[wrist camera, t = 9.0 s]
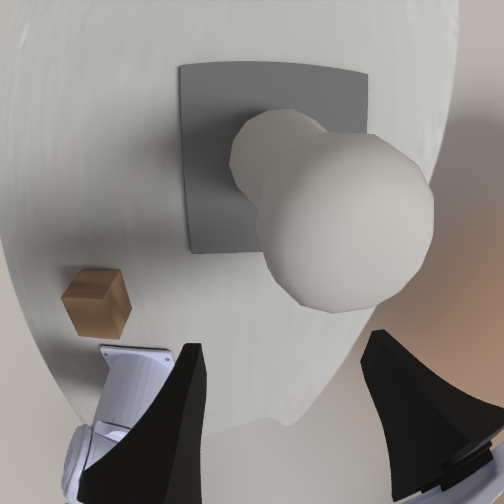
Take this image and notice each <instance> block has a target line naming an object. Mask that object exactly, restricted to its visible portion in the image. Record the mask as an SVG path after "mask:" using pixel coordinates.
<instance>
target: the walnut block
mask: <svg viewBox="0 0 504 504" xmlns="http://www.w3.org/2000/svg"><path fill="white" fill-rule="evenodd" d="M61 299H62V301H63V303H64V306H65V308H66V310H67V312H68V314H69V317H70V319H71V321H72V323H73V325H74V327H75V329H76V331H77V333H78V335H79V336H84V337H94V338H105V339H117V340H119V339H120V336H121V334H122V331H123V329H124V326H125V324H126V322H127V319H128V317H129V314H130V312H131V310H132V307H131V304H130V300H129V297H128V294H127V291H126V287H125V284H124V281H123V277H122V274H121V270H81V271H80V273H79V274H78V275H77V277H76V278H75V279H74V280H73V282H72V283H71V284H70V286H69V287H68V288H67V290H66V291H65V292H64V294H63V295H62V297H61Z"/></svg>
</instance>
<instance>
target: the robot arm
mask: <svg viewBox="0 0 504 504" xmlns="http://www.w3.org/2000/svg"><path fill="white" fill-rule="evenodd" d="M100 351H101V353H102V355H103V357H104V359H105V361H106V362H107V364H108V366H109V368H110V370H109V373H108V376H107V379H106V382H105V385H104V388H103V391H102V394H101V397H100V400H99V403H98V406H97V409H96V412H95V416H94V419H93V423H92V425H91V426H88V425H87V424H83V425H82V426H79V427H77V428H76V430H75V432H74V434H73V437H72V439H71V442H70V445H69V448H68V451H67V455H66V460H65V464H64V473H63V477H62V484H61V485H62V490H63V493H64V496H65V498H66V499H67V500H68V501H69V503H70V504H202V498H201V474H200V445H201V434H202V426H203V418H204V410H205V402H206V389H207V373H206V367H205V362H204V357H203V352H202V346H201V343H186V344H184V345H183V348H182V350H181V352H180V355H179V357H178V359H177V361H176V363H174V360H173V357H172V354H171V352H169V351H167V350H149V349H134V348H121V347H110V346H101V348H100ZM360 363H361V367H362V371H363V374H364V378H365V382H366V384H367V387H368V389H369V392H370V394H371V397H372V399H373V401H374V404H375V407H376V409H377V412H378V414H379V417H380V419H381V423H382V426H383V429H384V434H385V438H386V442H387V448H388V453H389V459H390V468H391V482H392V498H393V501H394V502H396V501H399V500H401V499H404V498H406V497H408V496H411V495H413V494H415V493H417V492H419V491H421V493H422V494H421V495H419V496H417V497H415V498H413V499H411V500H408V501H406V502H404V503H401V504H491V503H492V502H493V501H494V500H495V499H496V498H497V497H498V496H499V495H500V494H501V493H502V492H503V491H504V442H502V443H501V444H500V445H499V446H497V447H496V448H495V449H494V450H492V451H490V449H489V448H490V447H491V446H492V443H491V441H490V440H491V439H492V438H494V437H495V436H496V435H497V434H498V433H499V432H501V431H502V430H503V429H504V408H502V407H499V406H495V405H492V404H489V403H486V402H483V401H481V400H479V399H476V398H474V397H472V396H470V395H468V394H466V393H464V392H463V391H461V390H459V389H457V388H456V387H454V386H452V385H450V384H449V383H448V382H446V381H444V380H443V379H442V378H440V377H439V376H437V375H436V374H435V373H434V372H432V371H431V370H429V368H427V367H426V366H425V365H424V364H423V363H421V362H420V361H419V360H418V359H417V358H415V357H414V356H413V355H412V354H411V353H410V352H409V351H407V349H405V348H404V347H403V346H402V345H401V344H400V343H399V342H398V341H397V340H396V339H394V338H393V337H392V336H391V335H390V334H389V333H387V332H386V331H385V330H384V329H382V330H376V331H372V333H371V336H370V338H369V341H368V343H367V346H366V348H365V351H364V353H363V356H362V358H361V361H360ZM65 504H68V503H65Z"/></svg>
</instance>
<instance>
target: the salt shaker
mask: <svg viewBox="0 0 504 504" xmlns="http://www.w3.org/2000/svg"><path fill="white" fill-rule="evenodd" d="M229 166H230V169H231V171H232V174H233V177H234V180H235V183H236V185H237V187H238V188H239V189H240V190H241V191H242V192H243V193H244V194H245V195H246V196H247V198H248V199H249V200H250V201H251V202H252V203H253V204H254V205H255V206H256V207H257V208H258V209H259V210H258V215H257V220H256V233H257V236H258V239H259V242H260V245H261V248H262V251H263V254H264V257H265V260H266V263H267V266H268V269H269V271H270V272H271V274H272V276H273V277H274V279H275V281H276V282H277V283H278V284H279V285H280V286H281V287H282V288H283V289H284V290H285V291H286V292H287V293H288V294H289V295H290V296H291V297H292V298H294V299H295V300H296V301H297V302H298V303H299V304H300V305H301V306H305V307H309V308H313V309H317V310H321V311H325V312H329V313H341V312H348V311H355V310H361V309H367V308H372V307H374V306H375V305H377V304H379V303H381V302H383V301H384V300H386V299H388V298H390V297H391V296H393V295H395V294H396V293H398V292H399V291H400V290H401V289H402V288H403V287H404V286H405V285H406V284H407V283H408V282H409V280H410V279H411V278H412V277H413V276H414V275H415V274H416V273H417V272H418V270H419V269H420V268H421V265H422V263H423V260H424V258H425V256H426V253H427V251H428V248H429V246H430V243H431V241H432V235H433V223H434V222H433V221H434V197H433V194H432V192H431V190H430V188H429V186H428V184H427V182H426V179H425V177H424V175H423V173H422V171H421V169H420V167H419V165H418V164H416V163H415V162H414V161H412V160H411V159H410V158H408V157H407V156H406V155H404V154H403V153H401V152H400V151H399V150H397V149H396V148H394V147H393V146H392V145H390V144H389V143H387V142H386V141H384V140H382V139H381V138H379V137H378V136H376V135H374V134H363V133H338V132H328V131H327V130H326V129H324V128H323V127H322V126H321V125H320V124H319V123H318V122H317V121H316V120H314V119H312V118H310V117H308V116H306V115H304V114H302V113H300V112H298V111H296V110H293V109H286V110H268V111H266V112H264V113H262V114H260V115H258V116H256V117H254V118H252V119H250V120H248V121H246V123H245V124H244V126H243V127H242V129H241V130H240V131H239V133H238V134H237V136H236V137H235V139H234V140H233V144H232V150H231V155H230V161H229Z"/></svg>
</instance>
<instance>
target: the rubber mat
mask: <svg viewBox="0 0 504 504" xmlns="http://www.w3.org/2000/svg"><path fill="white" fill-rule="evenodd" d="M180 91H181V128H182V149H183V166H184V180H185V193H186V205H187V216H188V226H189V235H190V245H191V253H192V254H203V253H238V252H263V251H262V248H261V245H260V242H259V239H258V236H257V233H256V220H257V215H258V210H259V209H258V208H257V207H256V206H255V205H254V204H253V203H252V202H251V201H250V200H249V199H248V198H247V196H246V195H245V194H244V193H243V192H242V191H241V190H240V189H239V188H238V187H237V185H236V183H235V180H234V177H233V174H232V171H231V169H230V166H229V161H230V155H231V150H232V144H233V140H234V139H235V137H236V136H237V134H238V133H239V131H240V130H241V129H242V127H243V126H244V124H245V123H246V121H248V120H250V119H252V118H254V117H256V116H258V115H260V114H262V113H264V112H266V111H268V110H286V109H293V110H296V111H298V112H300V113H302V114H304V115H306V116H308V117H310V118H312V119H314V120H316V121H317V122H318V123H319V124H320V125H321V126H322V127H323V128H324V129H326V130H327V131H328V132H338V133H363V134H366V132H367V110H368V74H364V73H359V72H354V71H349V70H343V69H337V68H331V67H324V66H316V65H307V64H296V63H283V62H258V61H236V62H211V63H198V64H187V65H180Z"/></svg>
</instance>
